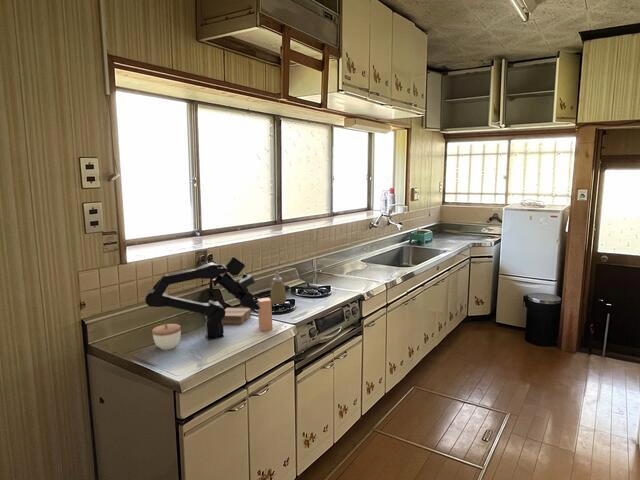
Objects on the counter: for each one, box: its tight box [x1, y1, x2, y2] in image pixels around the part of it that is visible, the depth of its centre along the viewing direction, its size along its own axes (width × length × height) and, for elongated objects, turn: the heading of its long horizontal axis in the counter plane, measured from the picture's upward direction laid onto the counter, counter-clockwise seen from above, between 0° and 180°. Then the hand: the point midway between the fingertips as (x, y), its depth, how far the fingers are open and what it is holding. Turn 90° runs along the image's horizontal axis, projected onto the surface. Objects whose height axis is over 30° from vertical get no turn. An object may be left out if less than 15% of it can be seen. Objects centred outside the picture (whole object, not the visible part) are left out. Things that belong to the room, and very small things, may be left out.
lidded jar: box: [151, 323, 182, 351], centre depth 174 cm, size 11×11×9 cm
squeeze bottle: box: [270, 271, 287, 305], centre depth 223 cm, size 8×8×18 cm
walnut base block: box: [221, 307, 252, 325], centre depth 205 cm, size 12×12×4 cm
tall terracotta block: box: [256, 297, 274, 331], centre depth 191 cm, size 5×5×13 cm
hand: (257, 305), depth 189 cm, fingers open, 9 cm apart
